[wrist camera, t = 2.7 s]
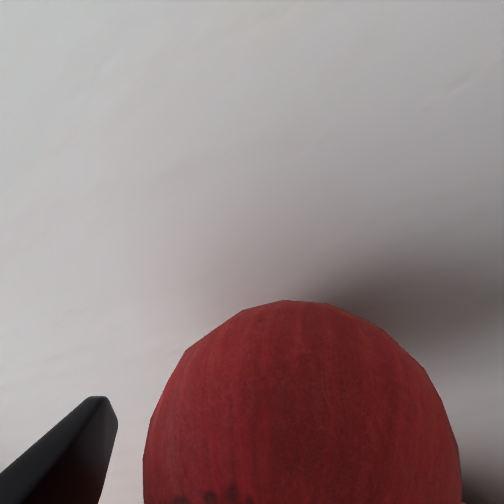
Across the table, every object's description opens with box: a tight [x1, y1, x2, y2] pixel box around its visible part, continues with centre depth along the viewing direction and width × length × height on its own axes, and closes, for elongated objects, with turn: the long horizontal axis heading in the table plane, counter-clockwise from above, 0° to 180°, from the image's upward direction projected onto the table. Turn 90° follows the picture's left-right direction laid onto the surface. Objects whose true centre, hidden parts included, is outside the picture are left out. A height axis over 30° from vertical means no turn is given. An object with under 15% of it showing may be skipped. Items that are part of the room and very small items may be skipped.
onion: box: [143, 300, 462, 504], centre depth 8 cm, size 6×6×8 cm
